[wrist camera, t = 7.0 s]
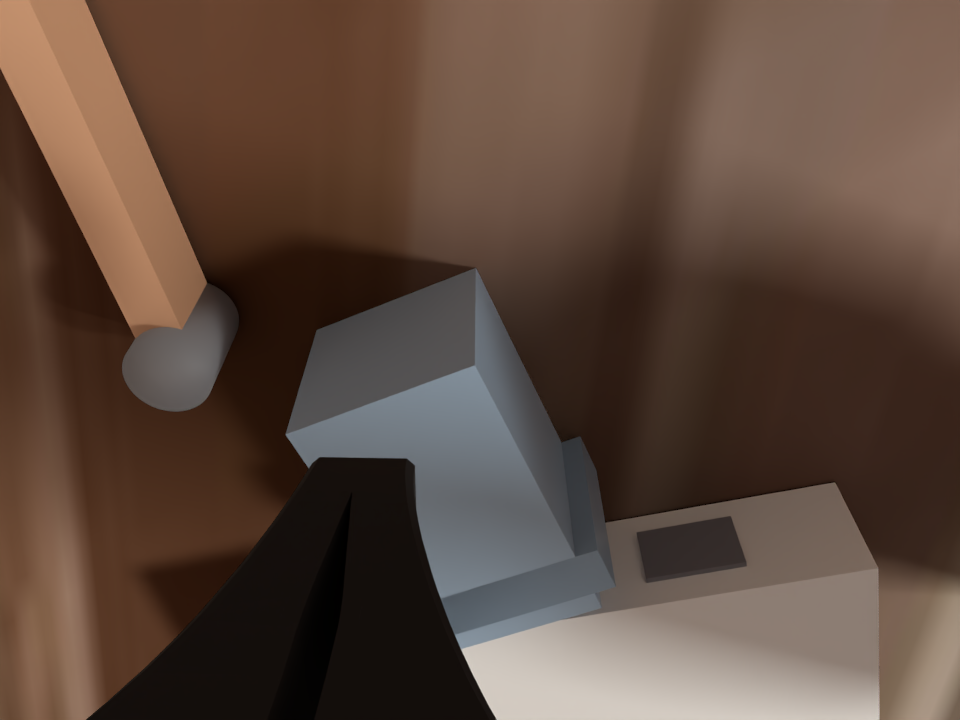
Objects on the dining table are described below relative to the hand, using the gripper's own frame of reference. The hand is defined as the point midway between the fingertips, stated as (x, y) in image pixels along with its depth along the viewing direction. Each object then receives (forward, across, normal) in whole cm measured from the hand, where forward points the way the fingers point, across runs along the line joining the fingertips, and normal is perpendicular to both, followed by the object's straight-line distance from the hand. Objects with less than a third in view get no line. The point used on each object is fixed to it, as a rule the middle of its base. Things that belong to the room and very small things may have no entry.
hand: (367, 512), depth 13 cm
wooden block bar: (+8, +6, -3) cm, 11 cm away
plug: (+8, -1, +4) cm, 10 cm away
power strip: (+8, -4, +11) cm, 14 cm away
